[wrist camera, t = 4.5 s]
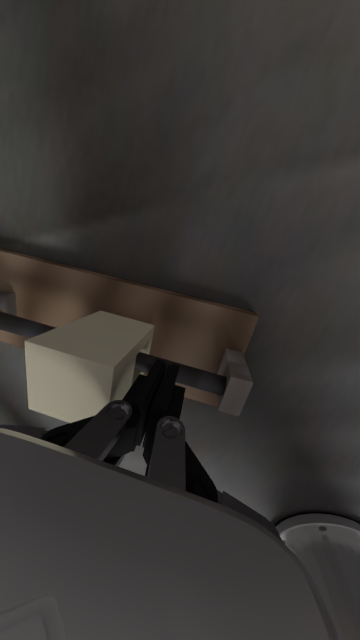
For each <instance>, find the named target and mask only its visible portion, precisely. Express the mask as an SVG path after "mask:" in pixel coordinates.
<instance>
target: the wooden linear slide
mask: <svg viewBox="0 0 360 640" xmlns="http://www.w3.org/2000/svg"><path fill="white" fill-rule="evenodd" d="M98 311H104V312H108V313H112V314H115V315H119V316H123V317H126V318H130V319H134V320H137V321H141V322H145V323H148V324H152V325H155V327H154V332H153V337H152V343H151V348H150V353H149V354H146V353H142V352H139V353H138V354H137V355H136V361H135V367H134V370H137V371H140V372H143V373H144V375H145V376H147V375H148V373H149V371H150V369H151V368H152V366H153V364H154V363H155V361H156V359H159V360H163V361H164V363H165V364H167V365H166V370H167V368H168V366H169V365H172V364H176V365H180V368H179V372H178V375H177V379H176V383H175V385H178V386H181V387H184V388H186V389H185V394H184V397H185V398H188V399H191V400H195V401H198V402H201V403H204V404H208V405H211V406H214V407H217V408H218V411H220V412H223V413H227V414H230V415H233V416H236V417H239V416H240V414H241V411H242V409H243V407H244V404H245V402H246V400H247V397H248V395H249V393H250V390H251V388H252V385H253V380H252V377H251V375H250V372H249V369H248V366H247V364H246V361H245V358H244V355H245V353H246V350H247V348H248V345H249V342H250V340H251V337H252V334H253V332H254V329H255V327H256V324H257V321H258V319H259V316H258V315H257V314H256V313H255V312H252V311H248V310H244V309H240V308H236V307H232V306H228V305H224V304H220V303H216V302H212V301H208V300H204V299H200V298H196V297H192V296H188V295H184V294H180V293H176V292H172V291H168V290H164V289H160V288H157V287H153V286H149V285H145V284H141V283H137V282H133V281H129V280H125V279H121V278H117V277H113V276H109V275H105V274H101V273H97V272H93V271H89V270H85V269H81V268H77V267H73V266H69V265H65V264H61V263H57V262H53V261H49V260H46V259H42V258H38V257H34V256H30V255H26V254H22V253H18V252H14V251H10V250H6V249H2V248H0V341H2V342H6V343H9V344H12V345H15V346H19V347H22V348H25V342H24V341H25V340H28V339H30V338H33V337H35V336H38V335H40V334H43V333H45V332H48V331H50V330H53V329H55V328H58V327H60V326H63V325H66V324H68V323H71V322H73V321H76V320H78V319H81V318H83V317H86V316H88V315H91V314H93V313H96V312H98ZM166 370H165V373H166ZM164 375H165V374H164Z"/></svg>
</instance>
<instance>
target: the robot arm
mask: <svg viewBox="0 0 360 640" xmlns="http://www.w3.org/2000/svg"><path fill="white" fill-rule="evenodd" d="M166 365H167V364H165V363H164V361H163V360H159V359H156V361H155V363H154V364H153V366H152V368H151V369H150V371H149V373H148V375H147V376H145V375H142V374H139V375H138V377H137V378H136V380H135V381H134V383H133V384H132V386H131V387H130V389H129V390H128V392H127V393H126V395H125V396H124V398H123V399H122V400H114V401H112V402H109V403H108V404H107V405H106V406H105V407H103V408H102V409H101V410H100V411H99V412H98V413H97V414H96V415H95V416H91V417H88V418H85V419H82V420H79V421H76V422H72V423H69V424H66V425H63V426H60V427H56V428H54V429H52V430H50V431H46V428H37V427H26V426H15V425H0V640H360V524H359V523H357V522H355V521H353V520H350V519H347V518H344V517H340V516H336V515H331V514H321V513H313V514H302V515H297V516H294V517H290V518H288V519H286V520H284V521H282V522H281V523H279V524H278V525H277V526H276V527H275V526H274V525H273V524H272V523H271V522H270V521H269V520H268V519H267V518H265V517H264V516H262V515H261V514H259V513H258V512H256V511H254V510H253V509H251V508H250V507H248V506H247V505H245V504H243V503H242V502H240V501H239V500H237V499H236V498H234V497H233V496H231V495H229V494H228V493H226V492H225V491H223V493H221V492H220V491H218V490H217V489H216V487H215V485H214V483H213V481H212V480H211V478H210V477H209V475H208V474H207V472H206V471H205V469H204V468H203V466H202V465H201V463H200V462H199V460H198V459H197V457H196V456H195V454H194V453H193V451H192V450H191V448H190V447H189V445H188V444H187V442H186V441H185V427H184V425H183V423H182V422H181V421H180V420H179V418H180V413H181V409H182V404H183V399H184V394H185V389H186V388H184V387H181V386H178V385H175V383H176V379H177V375H178V372H179V368H180V365H176V364H172V365H169V366H168V368H167V370H166ZM165 370H166V373H165ZM164 374H165V375H164ZM145 432H146V433H145ZM144 434H145V437H144ZM143 437H144V442H143V447H144V452H143V457H144V459H145V461H146V464H147V467H146V472H145V476H143V475H140V474H137V473H134V472H132V471H129V470H126V469H123V468H120V467H118V466H119V465H120V463H121V461H122V460H123V457H124V455H125V454H127V453H129V452H131V451H134V450H135V447H136V445H138V446H140V444H141V442H142V439H143Z"/></svg>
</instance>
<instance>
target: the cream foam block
mask: <svg viewBox="0 0 360 640" xmlns="http://www.w3.org/2000/svg"><path fill="white" fill-rule="evenodd" d="M154 327H155V325H152V324H148V323H145V322H141V321H137V320H134V319H130V318H126V317H123V316H119V315H115V314H112V313H108V312H104V311H98V312H96V313H93V314H91V315H88V316H86V317H83V318H81V319H78V320H76V321H73V322H71V323H68V324H66V325H63V326H60V327H58V328H55V329H53V330H50V331H48V332H45V333H43V334H40V335H38V336H35V337H33V338H30V339H28V340H25V341H24V342H25V358H26V374H27V390H28V406H29V409H31V410H34V411H36V412H39V413H42V414H45V415H48V416H51V417H54V418H57V419H60V420H63V421H66V422H69V423H72V422H76V421H79V420H82V419H85V418H88V417H91V416H95V415H96V414H97V413H98V412H99V411H100V410H101V409H102V408H103V407H105V406H106V405H107V404H108V403H109V402H112V401H114V400H122V399H123V398H124V396H125V395H126V393H127V392H128V390H129V389H130V387H131V386H132V384H133V383H134V381H135V380H136V378H137V377H138V375H139V374H142V375H144V373H143V372H140V371H137V370H134V367H135V361H136V355H137V354H138V353H139V352H142V353H146V354H149V353H150V348H151V343H152V337H153V332H154Z"/></svg>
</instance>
